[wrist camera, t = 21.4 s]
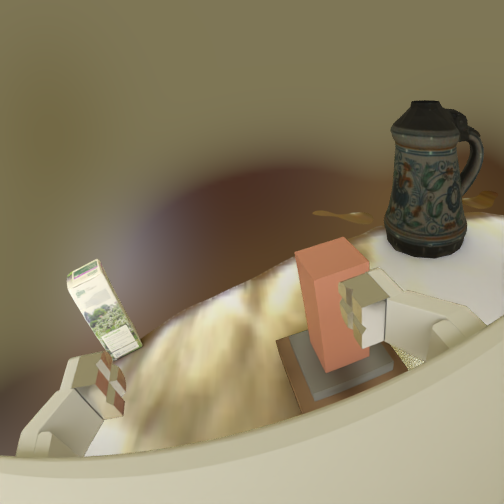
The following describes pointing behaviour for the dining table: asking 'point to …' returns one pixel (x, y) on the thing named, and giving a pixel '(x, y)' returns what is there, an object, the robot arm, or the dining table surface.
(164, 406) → the dining table surface
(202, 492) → the robot arm
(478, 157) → the beer stein
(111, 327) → the syrup box
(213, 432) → the dining table surface
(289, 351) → the podium
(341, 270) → the carton
